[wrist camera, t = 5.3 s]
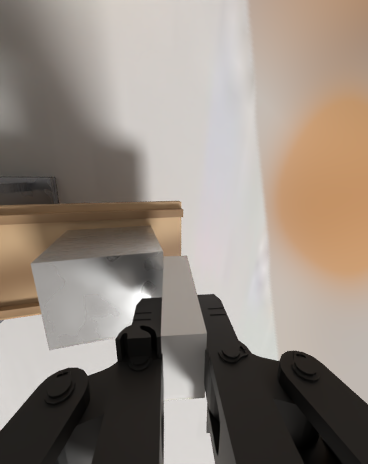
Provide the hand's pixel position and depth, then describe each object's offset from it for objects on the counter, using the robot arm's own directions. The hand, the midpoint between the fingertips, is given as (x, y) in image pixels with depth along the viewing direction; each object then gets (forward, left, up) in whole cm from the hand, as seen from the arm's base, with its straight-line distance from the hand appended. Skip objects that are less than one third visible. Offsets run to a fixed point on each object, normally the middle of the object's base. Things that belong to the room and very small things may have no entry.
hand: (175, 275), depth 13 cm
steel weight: (0, -5, -4) cm, 6 cm away
